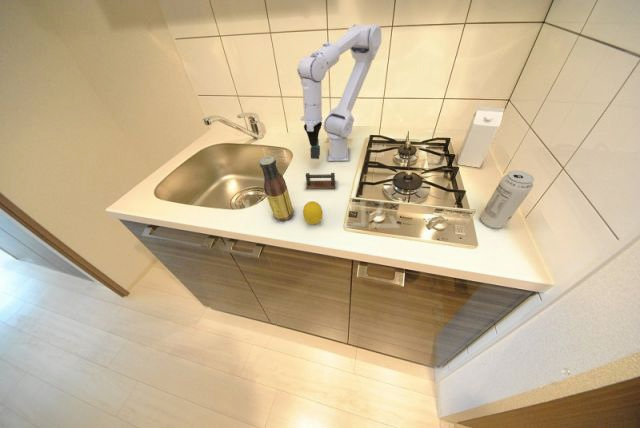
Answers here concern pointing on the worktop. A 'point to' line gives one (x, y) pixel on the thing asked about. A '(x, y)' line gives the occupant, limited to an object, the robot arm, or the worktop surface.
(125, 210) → the worktop surface
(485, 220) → the energy drink can
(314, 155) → the clip
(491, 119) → the milk carton
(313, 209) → the lemon
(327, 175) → the handle rail
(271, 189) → the sauce bottle
